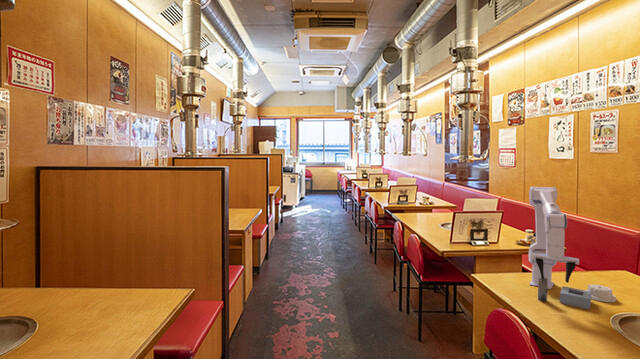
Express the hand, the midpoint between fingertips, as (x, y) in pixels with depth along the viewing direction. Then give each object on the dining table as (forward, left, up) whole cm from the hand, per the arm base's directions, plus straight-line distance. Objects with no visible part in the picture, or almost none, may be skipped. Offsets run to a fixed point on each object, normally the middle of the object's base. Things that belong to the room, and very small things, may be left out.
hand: (554, 280), depth 125 cm
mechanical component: (-21, +13, -10) cm, 27 cm away
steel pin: (-3, -4, -10) cm, 11 cm away
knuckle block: (-9, +6, -10) cm, 14 cm away
